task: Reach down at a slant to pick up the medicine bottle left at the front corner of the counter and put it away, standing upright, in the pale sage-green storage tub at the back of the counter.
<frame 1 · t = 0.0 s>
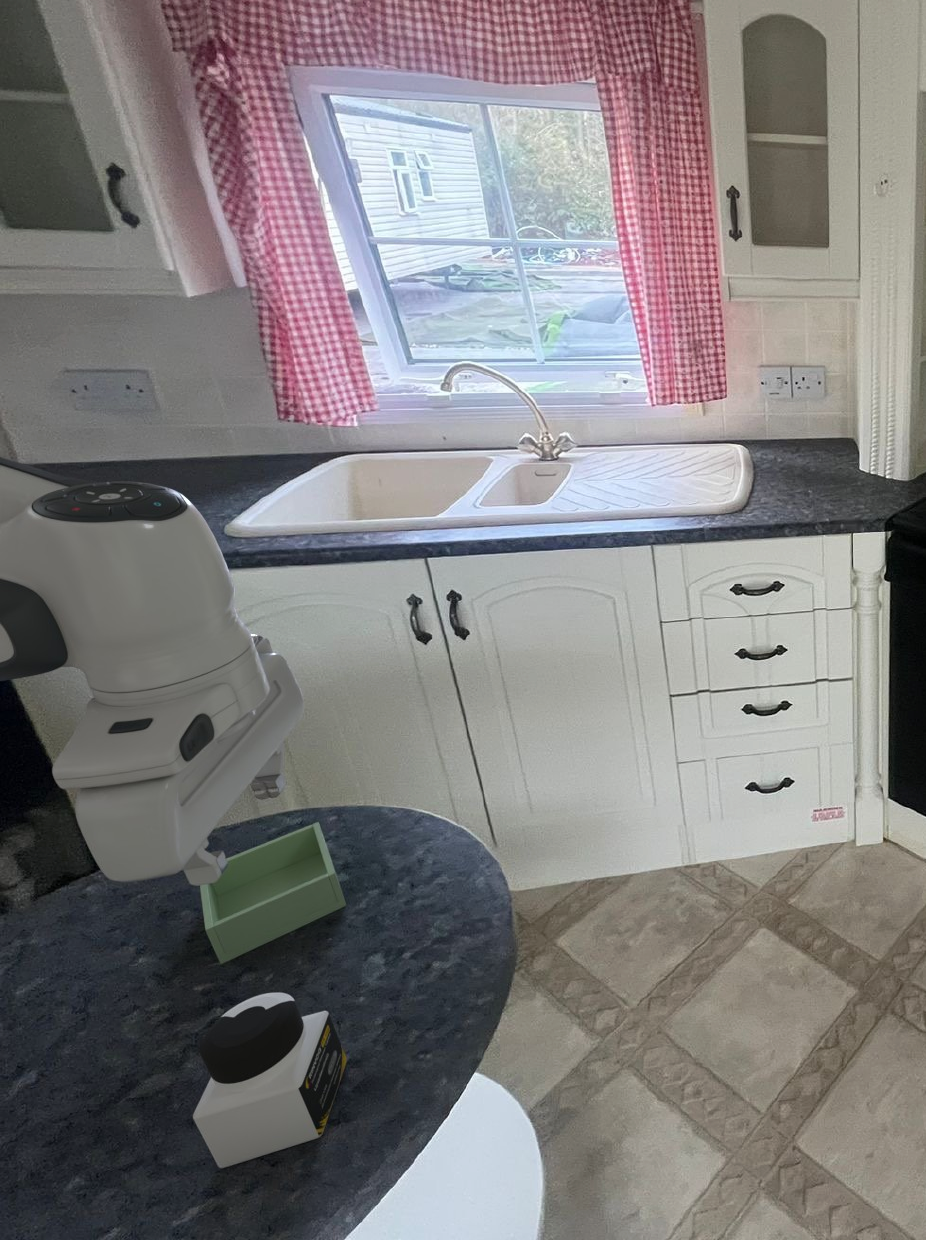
hand: (243, 832, 64), 27 cm above the countertop, tool pointing down, fingers open, 8 cm apart
medicine bottle: (288, 1113, 69), on the countertop
tub: (279, 904, 88), on the countertop
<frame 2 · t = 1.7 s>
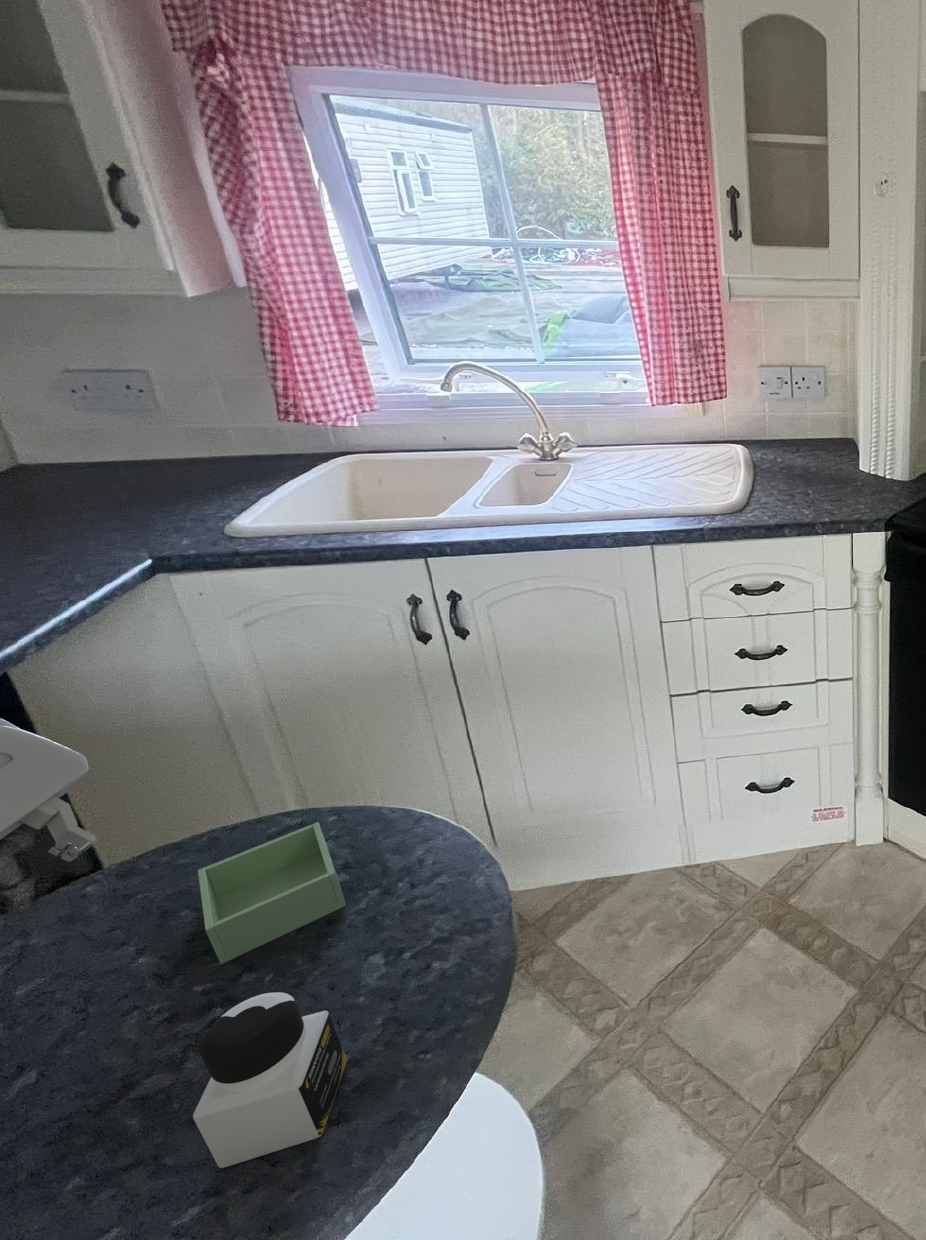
hand: (24, 898, 58), 26 cm above the countertop, tool tilted 45°, fingers open, 8 cm apart
nothing on the countertop moved.
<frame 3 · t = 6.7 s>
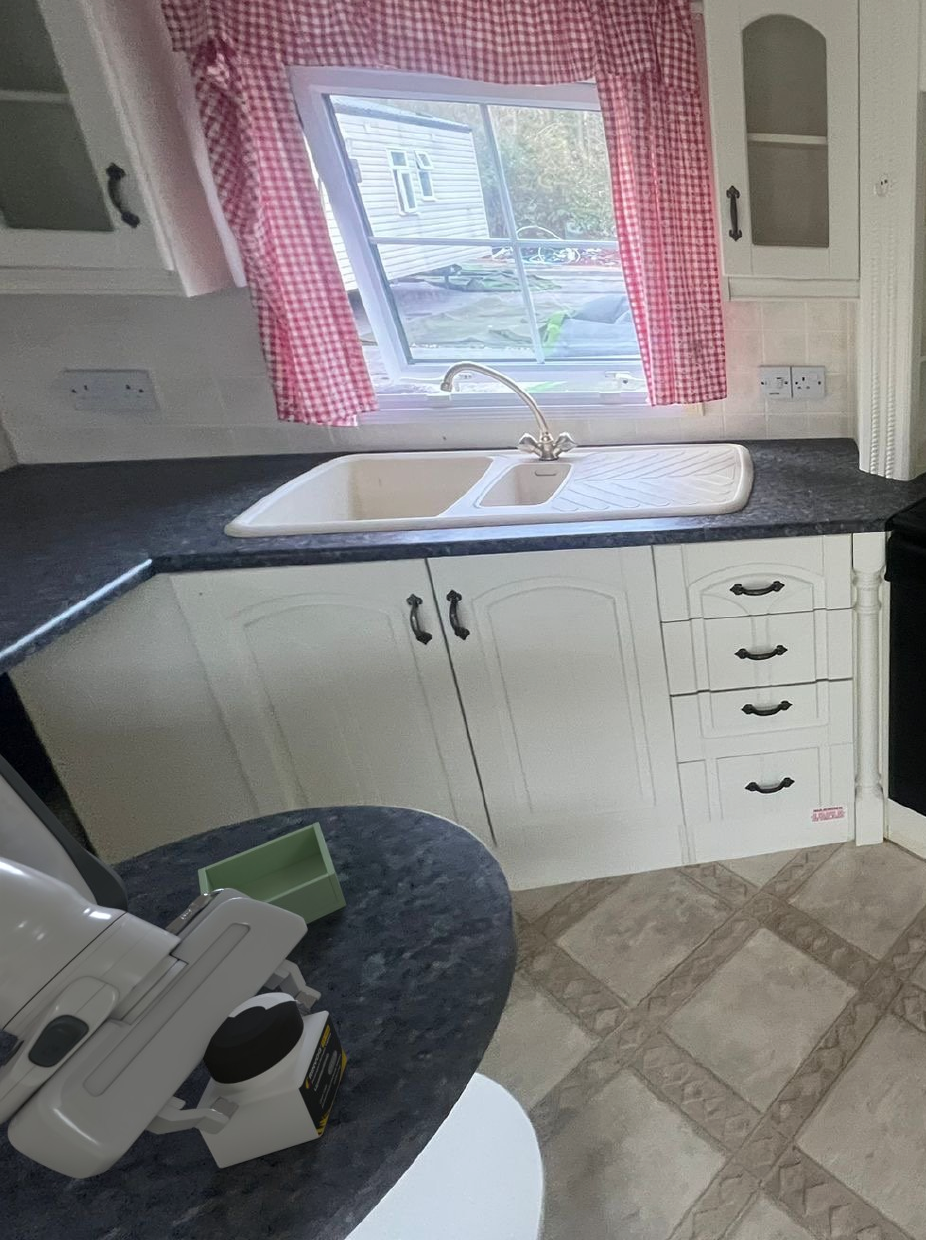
hand: (273, 1059, 66), 7 cm above the countertop, tool tilted 45°, fingers closed on medicine bottle, 8 cm apart
medicine bottle: (288, 1113, 69), on the countertop, touching gripper
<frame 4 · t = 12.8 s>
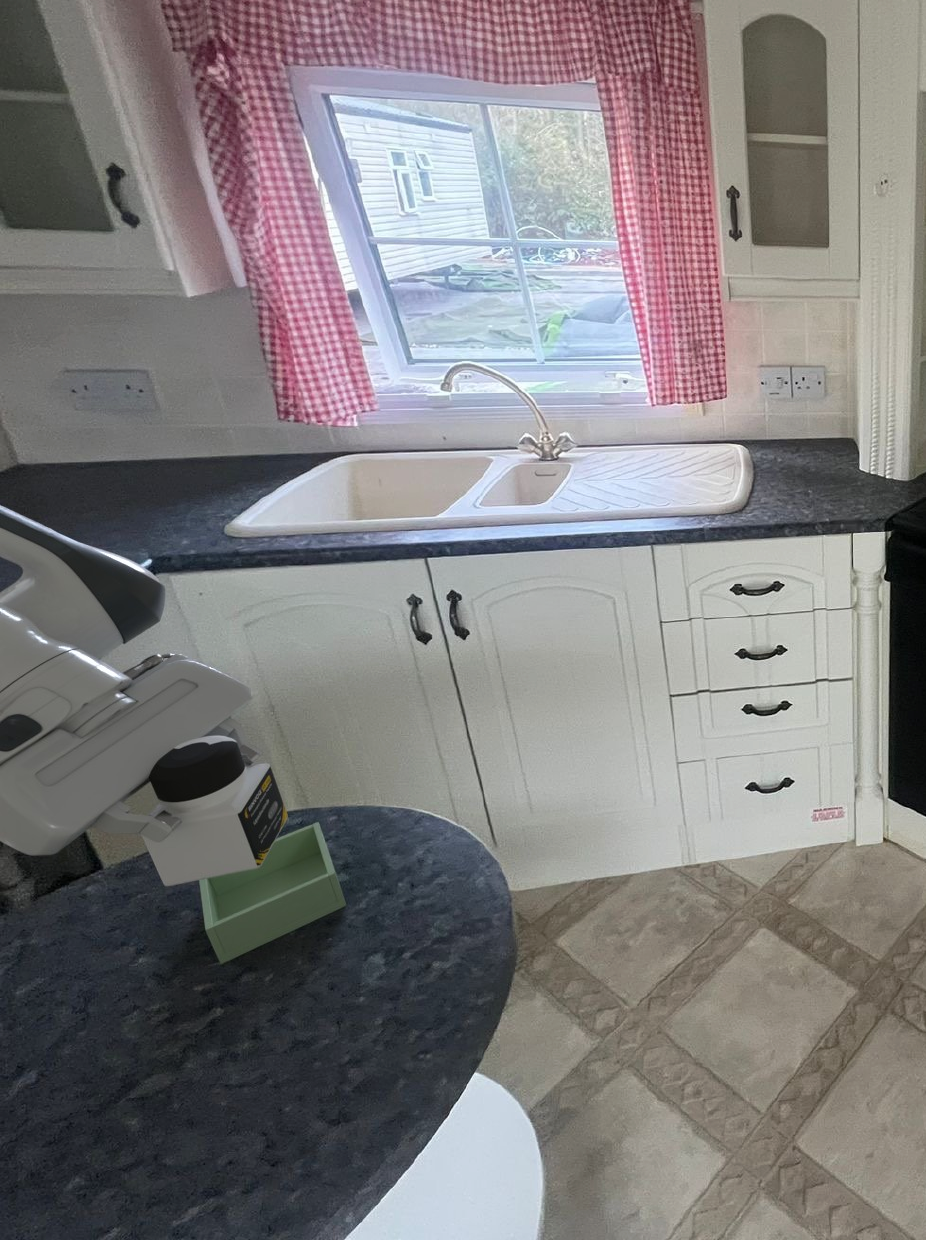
hand: (215, 795, 73), 23 cm above the countertop, tool tilted 45°, fingers closed on medicine bottle, 8 cm apart
medicine bottle: (230, 852, 75), point 16 cm above the countertop, touching gripper
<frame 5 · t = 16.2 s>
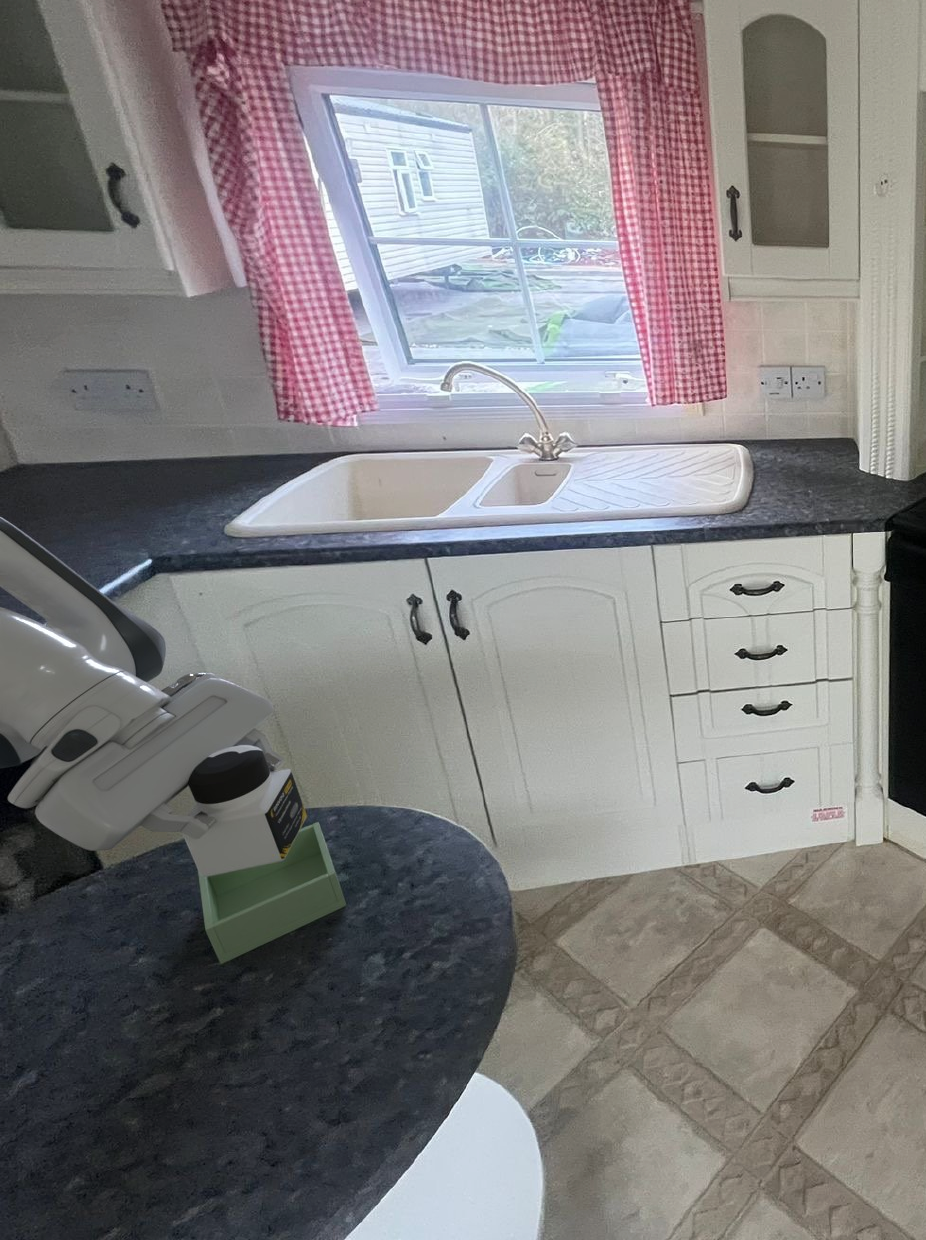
hand: (244, 797, 83), 15 cm above the countertop, tool tilted 45°, fingers closed on medicine bottle, 8 cm apart
medicine bottle: (257, 847, 85), point 8 cm above the countertop, touching gripper
when the fingers open (8 cm above the countertop, at t = 18.9 s): medicine bottle stays where it is, resting on tub.
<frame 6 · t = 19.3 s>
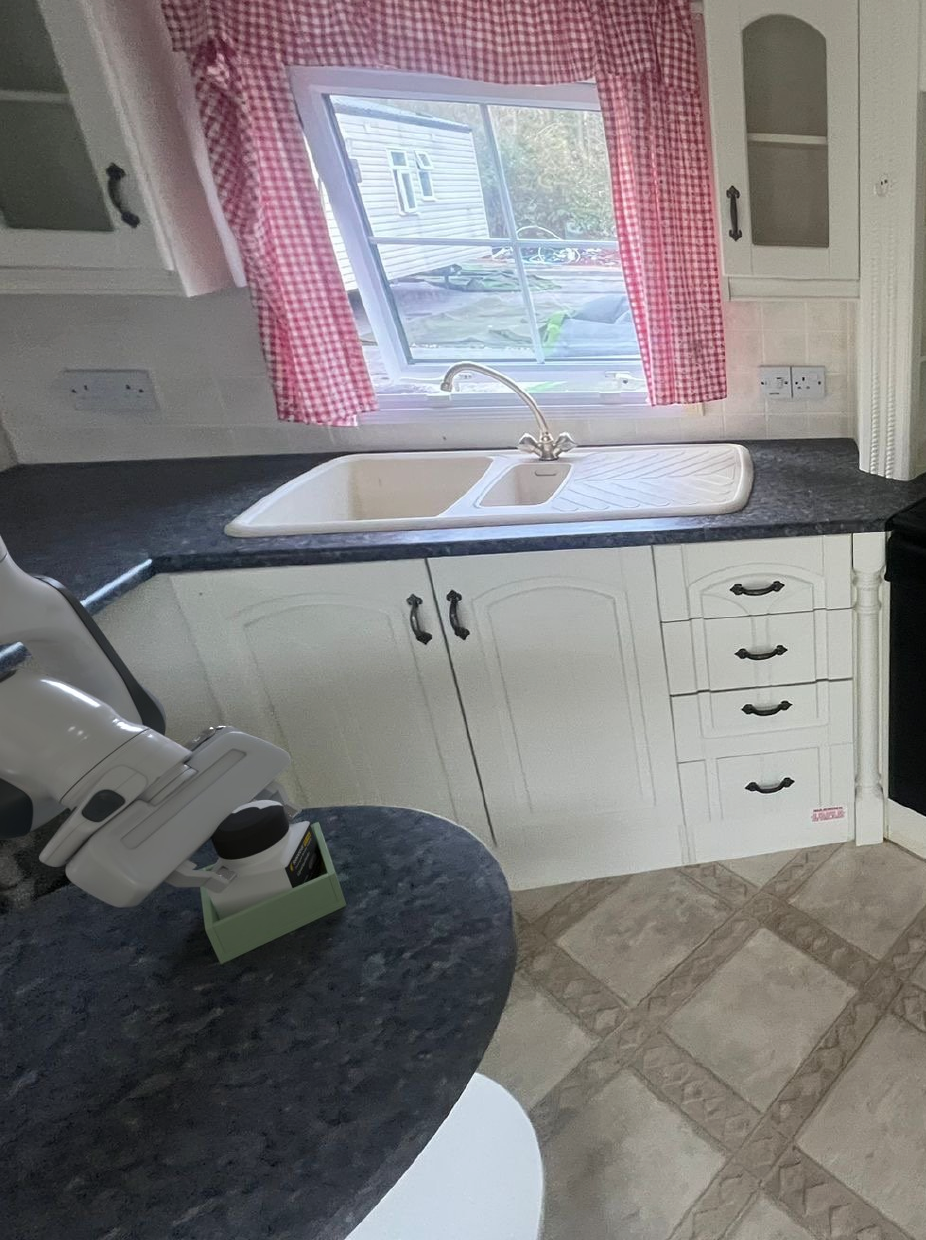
hand: (263, 849, 85), 8 cm above the countertop, tool tilted 45°, fingers open, 8 cm apart
medicine bottle: (277, 898, 88), point 1 cm above the countertop, touching gripper, tub
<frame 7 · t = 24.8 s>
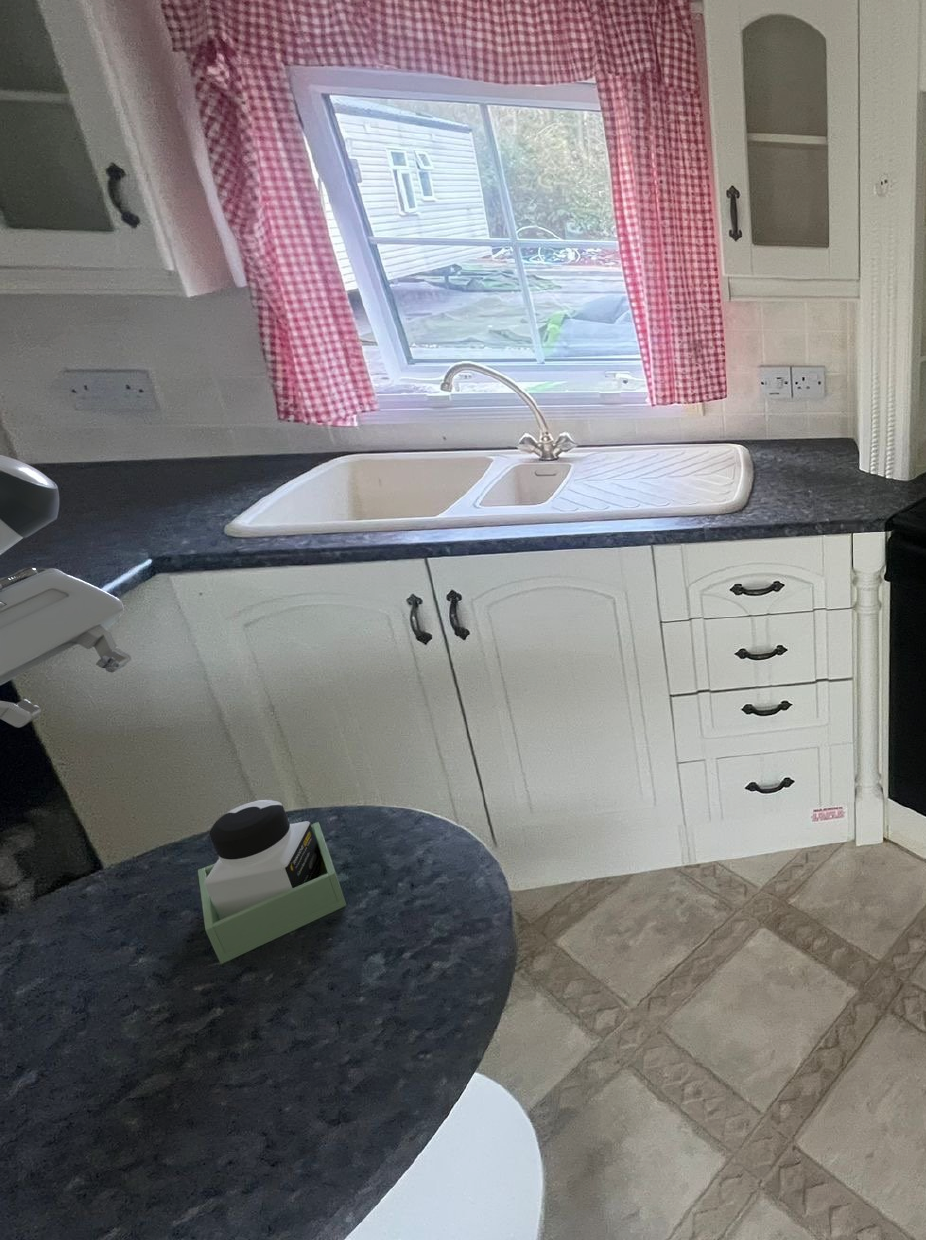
hand: (79, 690, 80), 27 cm above the countertop, tool tilted 45°, fingers open, 8 cm apart
medicine bottle: (277, 898, 88), point 1 cm above the countertop, touching tub
at the end: medicine bottle inside the target area in the tub (0.1 cm from its centre), point 0.8 cm above the tub's base; medicine bottle tilted 0°; the gripper is holding nothing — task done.
